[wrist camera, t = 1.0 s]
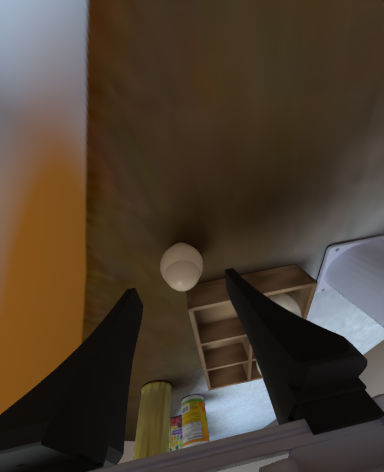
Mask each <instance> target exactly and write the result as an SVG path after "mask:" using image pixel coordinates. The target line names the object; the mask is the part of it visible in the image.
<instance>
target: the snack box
mask: <svg viewBox="0 0 384 472" xmlns="http://www.w3.org/2000/svg"><path fill="white" fill-rule="evenodd" d="M182 448H183V435H182V416H178V417H174V418H171V422H170V451H174V450H178V449H182Z"/></svg>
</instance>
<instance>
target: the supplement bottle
mask: <svg viewBox="0 0 384 472" xmlns="http://www.w3.org/2000/svg"><path fill="white" fill-rule="evenodd" d="M182 435H183V448H186V447H191V446H195V445H199V444H203V443H207V442H209V434H208V426H207V418H206V410H205V403H204V398H203V397H202V396H201V395H191V396H188V397H186V398H184V399H183V400H182Z"/></svg>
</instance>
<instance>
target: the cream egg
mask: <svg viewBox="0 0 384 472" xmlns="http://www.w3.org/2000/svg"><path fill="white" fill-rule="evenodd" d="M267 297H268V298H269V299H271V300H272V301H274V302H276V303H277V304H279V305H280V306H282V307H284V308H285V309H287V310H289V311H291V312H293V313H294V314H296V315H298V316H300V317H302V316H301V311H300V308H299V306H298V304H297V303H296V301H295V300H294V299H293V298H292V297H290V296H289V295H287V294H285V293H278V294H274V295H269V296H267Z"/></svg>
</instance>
